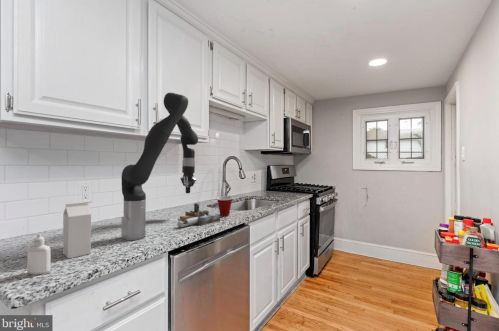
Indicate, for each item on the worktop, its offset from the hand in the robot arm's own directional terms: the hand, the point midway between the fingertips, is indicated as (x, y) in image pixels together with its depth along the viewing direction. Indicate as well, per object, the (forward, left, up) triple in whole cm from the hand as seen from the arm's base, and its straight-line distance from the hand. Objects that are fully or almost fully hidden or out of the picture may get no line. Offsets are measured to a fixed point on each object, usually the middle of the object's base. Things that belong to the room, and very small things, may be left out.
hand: (187, 193), depth 158 cm
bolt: (0, -12, -13) cm, 17 cm away
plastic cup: (+20, -12, -16) cm, 28 cm away
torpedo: (-10, -17, -15) cm, 25 cm away
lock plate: (0, -11, -15) cm, 19 cm away
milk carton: (-66, -19, -16) cm, 70 cm away
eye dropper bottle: (-79, -28, -16) cm, 85 cm away
